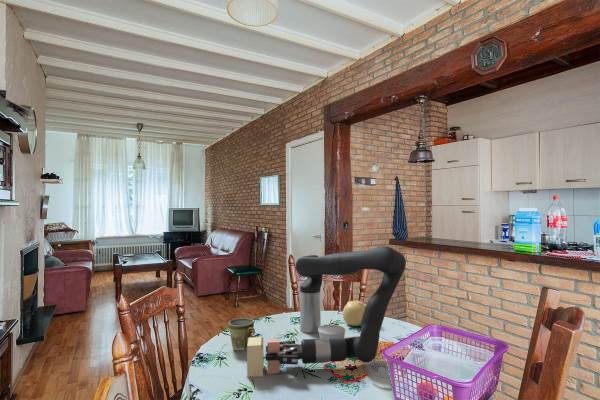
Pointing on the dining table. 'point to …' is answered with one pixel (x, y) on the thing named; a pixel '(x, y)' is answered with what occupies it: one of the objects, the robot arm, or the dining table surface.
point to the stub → (273, 347)
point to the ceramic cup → (241, 332)
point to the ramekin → (331, 332)
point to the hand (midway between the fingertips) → (266, 352)
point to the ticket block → (255, 357)
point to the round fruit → (353, 312)
